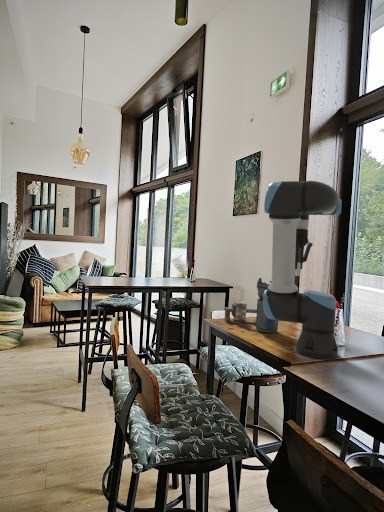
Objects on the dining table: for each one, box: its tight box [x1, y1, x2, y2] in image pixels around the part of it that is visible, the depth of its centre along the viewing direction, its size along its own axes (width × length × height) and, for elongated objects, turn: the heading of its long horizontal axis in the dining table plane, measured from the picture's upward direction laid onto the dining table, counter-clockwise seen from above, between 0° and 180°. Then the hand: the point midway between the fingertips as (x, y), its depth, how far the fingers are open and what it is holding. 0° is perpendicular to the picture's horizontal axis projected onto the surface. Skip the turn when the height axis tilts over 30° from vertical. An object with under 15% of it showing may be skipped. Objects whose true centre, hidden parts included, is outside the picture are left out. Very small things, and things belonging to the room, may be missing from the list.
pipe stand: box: [223, 306, 257, 325], centre depth 180 cm, size 22×7×7 cm, turn 93°
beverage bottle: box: [255, 277, 279, 334], centre depth 162 cm, size 10×13×25 cm
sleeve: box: [233, 300, 247, 321], centre depth 180 cm, size 5×9×9 cm, turn 3°
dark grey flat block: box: [231, 303, 236, 318], centre depth 180 cm, size 1×6×6 cm, turn 2°
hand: (297, 275), depth 173 cm, fingers closed
